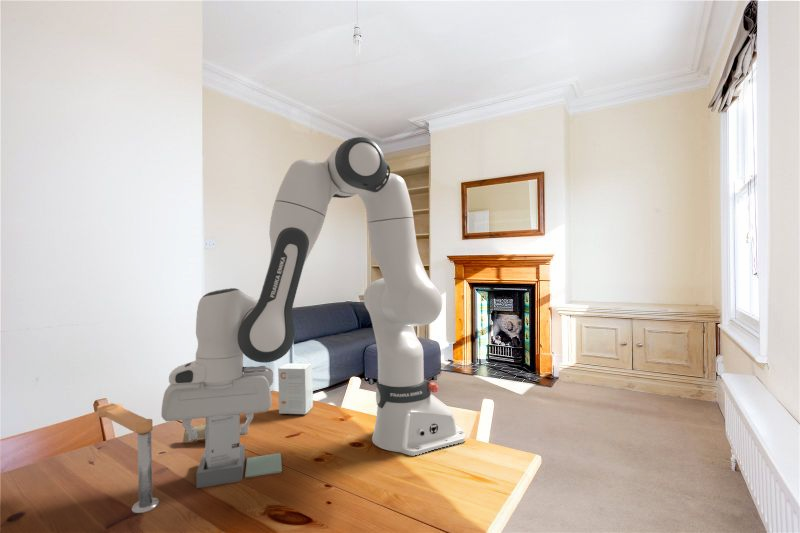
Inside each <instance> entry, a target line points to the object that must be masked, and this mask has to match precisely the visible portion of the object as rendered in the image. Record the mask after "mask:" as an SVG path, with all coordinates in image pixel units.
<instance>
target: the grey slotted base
mask: <svg viewBox="0 0 800 533" xmlns="http://www.w3.org/2000/svg"><path fill="white" fill-rule="evenodd" d="M200 459H201V460H200V462H199V463H198V468H197V470H196V472H195V473H196V478H195V479H196V489H199V488H207V487H211V486H212V487H213V486H218V485H219V486H220V485H225V484H230V483H237V482H242V481H243V476H244V468H245V459H246V445H245V444H240V457H239V458H238V460H237V465H231V466H224V467H218V468H212V469H206V459H205V449H204V450H203V453H202V456H201V458H200Z"/></svg>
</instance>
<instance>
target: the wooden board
mask: <svg viewBox="0 0 800 533" xmlns="http://www.w3.org/2000/svg"><path fill="white" fill-rule="evenodd" d="M123 406H124V405H123V404H122V403H114V402H109V403H106V404H101V405H97V406H96V413H97V418H107V419H108V420H110V421H112V422H114V423H116V424H118V425H119V426H120V425H121V426H122V427H124V428H126V429H128V430H129V431H132V432H133V433H135V434H137V435H138V434H142V433H147V432H150V431H151V432H152V431H153V419H152V418H145V417H143V416H141V415H139V414H137V413H134V412H132V411H130V410H129V409H126V408H124V407H123Z"/></svg>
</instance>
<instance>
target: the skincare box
mask: <svg viewBox="0 0 800 533" xmlns="http://www.w3.org/2000/svg"><path fill="white" fill-rule="evenodd" d="M240 419H241V414H236V415H225V416H213V417H206V418H205V424H206V425H205V424H204V425H205V438H204V439H205V440H204V441H205V443H204V445H205V449H204V450H205V459H206V469H212V468H218V467H224V466H231V465H237V460H238V458H239V457H240V445H241V444H240V439H241V437H240V436H241V435H240V425H241V423H240V422H241V420H240Z"/></svg>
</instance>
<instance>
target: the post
mask: <svg viewBox="0 0 800 533" xmlns="http://www.w3.org/2000/svg"><path fill="white" fill-rule="evenodd" d="M152 459H153V458H152V430H151V431H150V432H147V433H142V434H138V433H137V471H138V472H137V473H138V474H137V475H138V476H137V477H138V478H137V479H138V484H137V485H138V486H137V487H138V489H137V490H138V501H137V502H135V503H134V504H133V505H132V507H131V512H132V513H135V514H141V513H142V514H143V513H146V512H149V511H152V510H154V509H155V508H156V507H157V506H158V505H159V503H160V500H159V498H157V497H153V471H152V470H153V464H152V463H153V462H152V461H153V460H152Z"/></svg>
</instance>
